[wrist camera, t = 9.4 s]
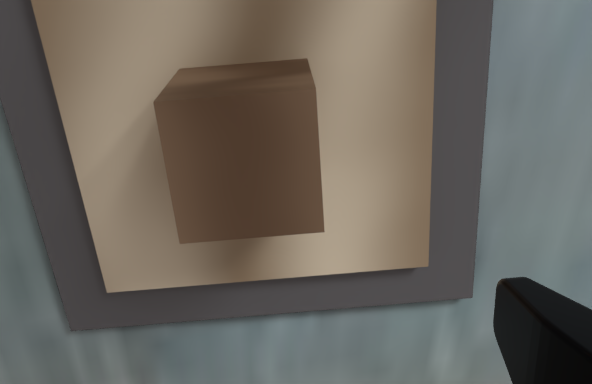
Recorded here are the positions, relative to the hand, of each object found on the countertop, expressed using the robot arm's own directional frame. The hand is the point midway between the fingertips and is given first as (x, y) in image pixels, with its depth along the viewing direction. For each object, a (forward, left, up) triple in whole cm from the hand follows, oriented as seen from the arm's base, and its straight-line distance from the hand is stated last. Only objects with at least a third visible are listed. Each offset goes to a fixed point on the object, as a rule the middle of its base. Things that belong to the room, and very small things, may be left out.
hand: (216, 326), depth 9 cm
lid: (0, 0, -11) cm, 11 cm away
